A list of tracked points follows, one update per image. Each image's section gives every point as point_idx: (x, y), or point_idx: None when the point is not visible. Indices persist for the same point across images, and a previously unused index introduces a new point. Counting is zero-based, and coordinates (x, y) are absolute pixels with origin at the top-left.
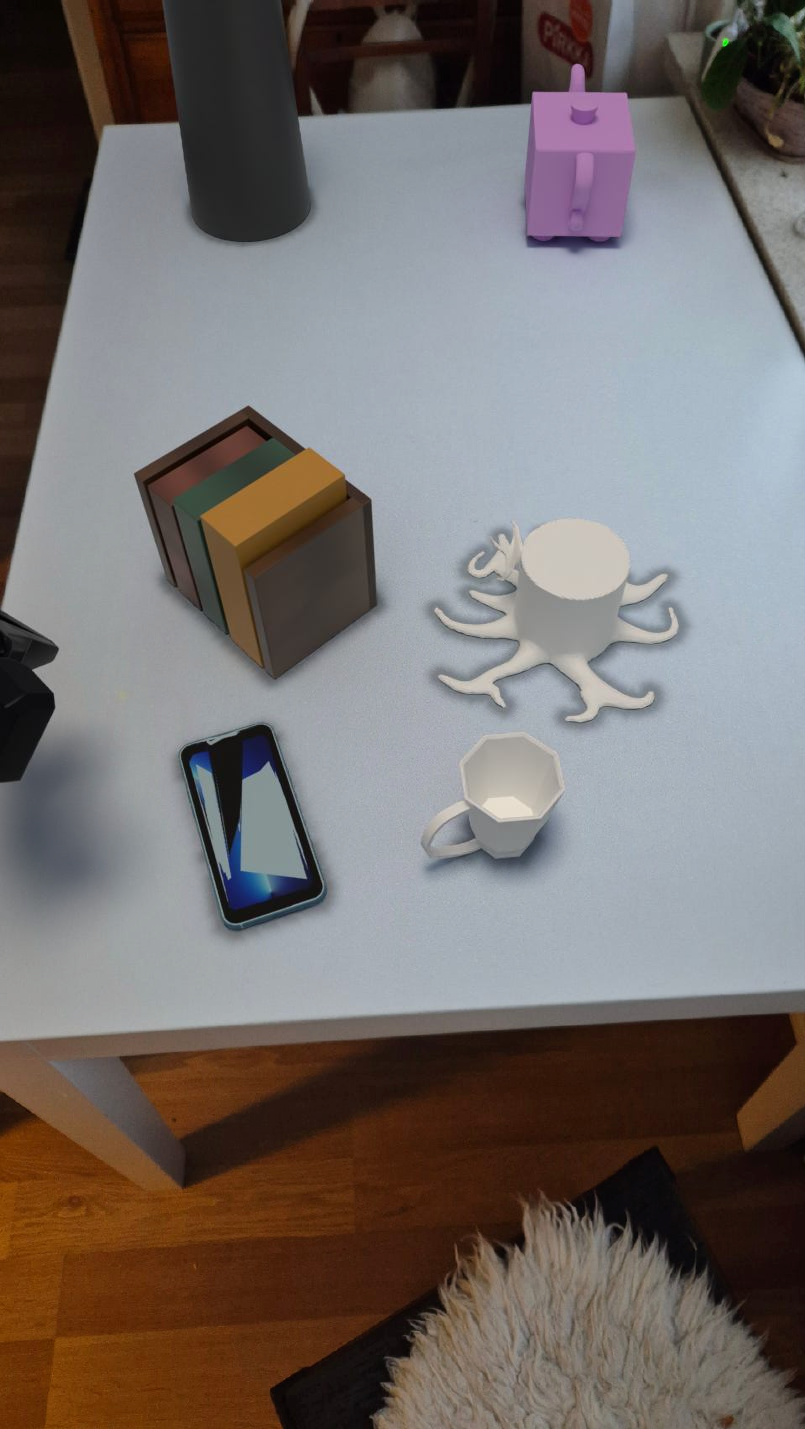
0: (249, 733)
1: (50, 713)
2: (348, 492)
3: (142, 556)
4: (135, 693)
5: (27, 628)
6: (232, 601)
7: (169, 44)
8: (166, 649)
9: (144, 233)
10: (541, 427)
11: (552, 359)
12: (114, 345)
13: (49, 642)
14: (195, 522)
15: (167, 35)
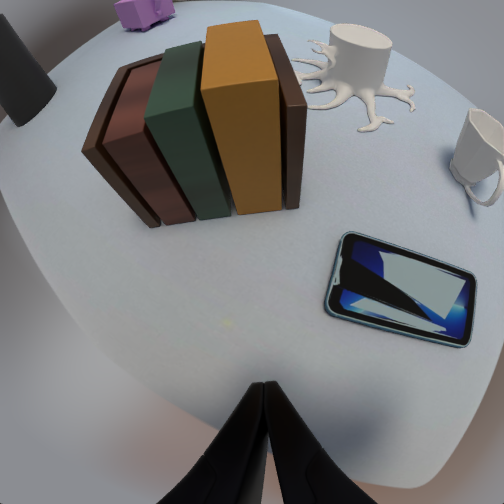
0: (347, 249)
1: None
2: None
3: (119, 233)
4: (233, 312)
5: (247, 430)
6: (250, 171)
7: None
8: (209, 264)
9: (6, 146)
10: None
11: (199, 33)
12: (18, 178)
13: (272, 395)
14: (190, 110)
15: None
